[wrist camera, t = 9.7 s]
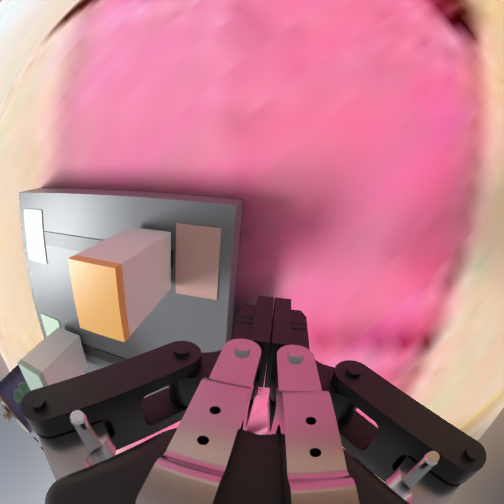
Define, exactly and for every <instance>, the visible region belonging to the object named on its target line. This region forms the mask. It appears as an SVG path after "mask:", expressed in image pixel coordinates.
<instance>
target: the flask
mask: <svg viewBox="0 0 504 504" xmlns="http://www.w3.org/2000/svg"><path fill="white" fill-rule="evenodd" d="M30 391H31V390H30V388H29V386H28V384H27V382H26V380H25V378H24V376H23V374H22V372H21V369H20V367H19V365H17V366H16V367H15V368H14V369H13V370H12V371H11V372H10V373H9V374H8V375H7V376H6V377H5V378H4V379H3V380H2V381H1V382H0V402H1V403H2V404H3V405H1V406H2V407H3V411H4V413H5V414H4V415H1V416H2V417H3V418H4V419H6V420H7V421H9V422H10V419H11V417H12V416H13V418H14V419H15V420H16V421H17V422H18V423H19V425H20V426H21V427H22V428H23V429H25V431H26V432H28V433H31V432H32V431H33V429H32V427H31V425H30V424H29V422H28V421H27V419H26V418H25V416H24V415H23V413H22V411H21V401H22V399H23V397H24V396H25V395H26V394H27V393H28V392H30Z"/></svg>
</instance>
